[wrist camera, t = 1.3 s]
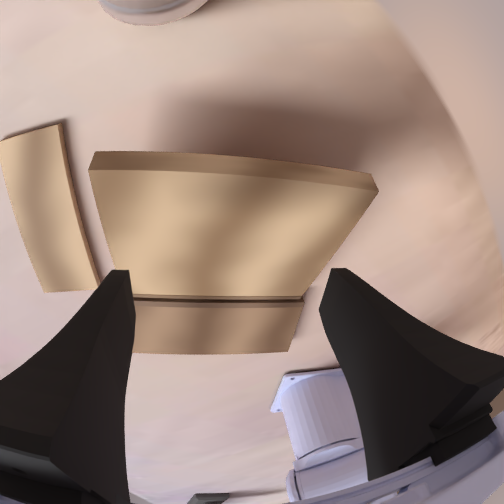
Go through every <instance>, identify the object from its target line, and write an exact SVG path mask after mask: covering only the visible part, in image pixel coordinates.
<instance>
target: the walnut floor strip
mask: <svg viewBox="0 0 504 504" xmlns="http://www.w3.org/2000/svg"><path fill="white" fill-rule="evenodd" d="M133 299H134V305H135V311H136V323H135V338H134V345H133V350H132V353H150V354H252V353H273V352H288V350H289V347H290V344H291V341H292V338H293V335H294V332H295V329H296V326H297V323H298V320H299V317H300V314H301V311H302V308H303V306H304V303H305V302H304V300H303V297H301V298H300V299H272V300H226V299H171V298H141V297H133Z"/></svg>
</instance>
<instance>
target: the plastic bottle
mask: <svg viewBox="0 0 504 504" xmlns="http://www.w3.org/2000/svg"><path fill="white" fill-rule="evenodd" d="M97 1H98V3H99V4H100V5H101V7H102V8H103V9H104V11H105V12H106V13H108V14H109V15H110V16H112V17H113V18H115V19H117V20H119V21H122V22H124V23H128V24H133V25H147V26H153V25H162V24H167V23H170V22H174V21H177V20H179V19H182V18H184V17H186V16H188V15H190V14H191V13H193V12H195V11H196V10H197V9H199V8H200V7H201V6H202V5H203V4H205V3H206V2H207V1H208V0H97Z"/></svg>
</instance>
